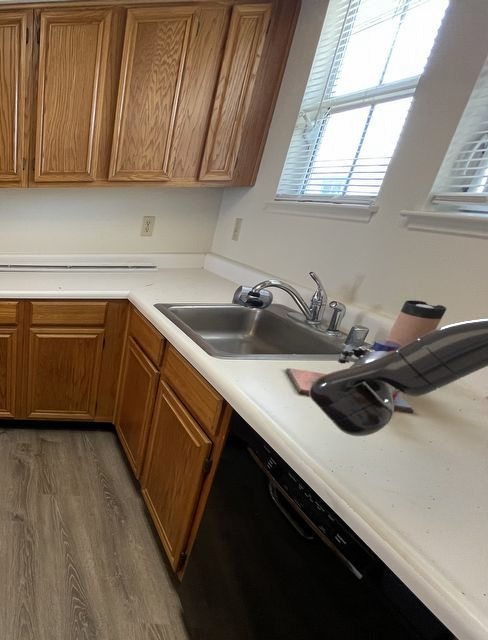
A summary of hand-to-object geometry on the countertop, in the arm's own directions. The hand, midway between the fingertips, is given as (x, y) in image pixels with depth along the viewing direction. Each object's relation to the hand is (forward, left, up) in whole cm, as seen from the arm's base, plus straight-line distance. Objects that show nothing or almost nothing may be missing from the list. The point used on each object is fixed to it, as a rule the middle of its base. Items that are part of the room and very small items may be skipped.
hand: (395, 356), depth 84 cm
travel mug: (-15, -29, -15) cm, 36 cm away
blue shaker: (-7, -19, -14) cm, 24 cm away
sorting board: (-1, -15, -15) cm, 21 cm away
